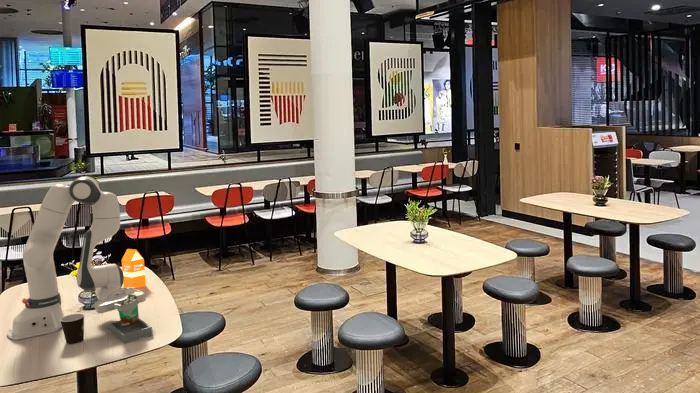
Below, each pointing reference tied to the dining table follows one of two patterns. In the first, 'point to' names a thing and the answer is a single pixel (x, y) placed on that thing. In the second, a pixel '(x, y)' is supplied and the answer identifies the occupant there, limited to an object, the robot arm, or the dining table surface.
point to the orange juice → (133, 269)
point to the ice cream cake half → (129, 311)
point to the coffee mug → (73, 328)
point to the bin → (130, 331)
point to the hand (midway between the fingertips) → (126, 306)
